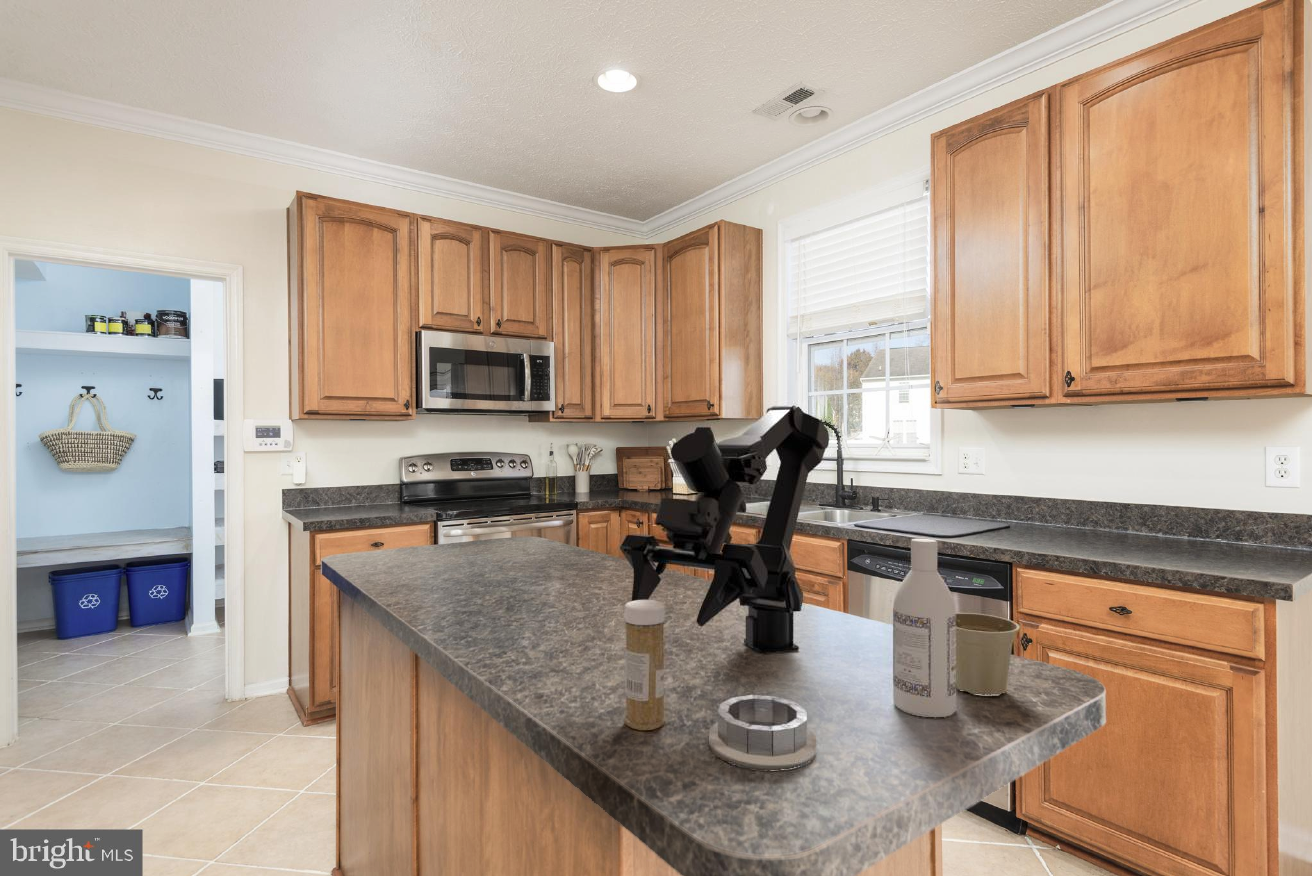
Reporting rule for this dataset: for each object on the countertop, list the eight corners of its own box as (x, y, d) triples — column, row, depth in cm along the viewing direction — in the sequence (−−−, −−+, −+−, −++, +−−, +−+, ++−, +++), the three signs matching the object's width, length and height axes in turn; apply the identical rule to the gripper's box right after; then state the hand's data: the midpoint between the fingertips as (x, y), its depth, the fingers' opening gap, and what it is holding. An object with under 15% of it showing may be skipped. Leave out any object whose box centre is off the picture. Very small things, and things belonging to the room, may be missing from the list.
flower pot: (974, 706, 80) (974, 634, 80) (922, 679, 89) (922, 615, 89) (1037, 699, 82) (1037, 629, 82) (981, 673, 91) (981, 610, 91)
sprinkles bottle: (672, 725, 74) (673, 604, 74) (638, 735, 71) (638, 610, 71) (650, 712, 78) (651, 596, 78) (616, 720, 75) (617, 601, 75)
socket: (783, 718, 76) (783, 687, 76) (838, 761, 66) (838, 726, 66) (693, 730, 73) (693, 698, 73) (736, 778, 62) (736, 741, 62)
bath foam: (936, 696, 83) (936, 535, 83) (968, 719, 76) (968, 544, 76) (883, 698, 82) (883, 536, 82) (910, 721, 75) (910, 544, 76)
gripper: (628, 472, 88) (572, 568, 78) (758, 476, 77) (711, 587, 68) (661, 526, 94) (612, 621, 85) (784, 537, 84) (745, 646, 75)
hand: (665, 618), depth 78 cm, fingers open, 9 cm apart
